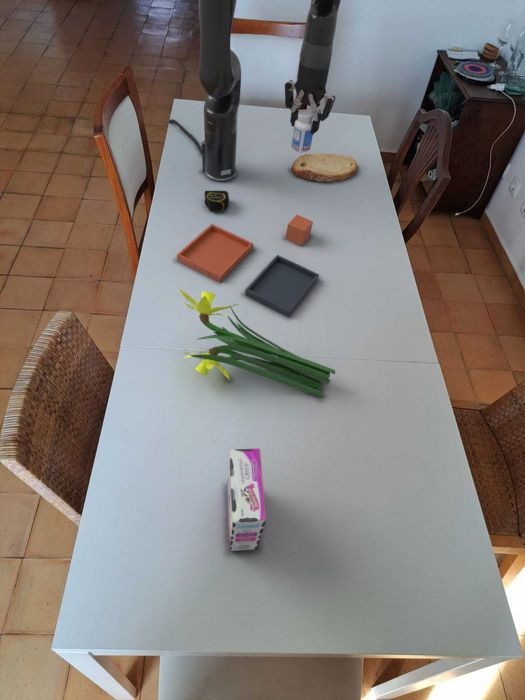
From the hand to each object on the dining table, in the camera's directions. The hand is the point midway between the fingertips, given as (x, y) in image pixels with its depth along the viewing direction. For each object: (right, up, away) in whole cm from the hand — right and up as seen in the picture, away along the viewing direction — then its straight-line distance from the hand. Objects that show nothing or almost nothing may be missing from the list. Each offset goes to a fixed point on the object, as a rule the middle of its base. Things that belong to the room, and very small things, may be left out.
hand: (303, 128), depth 124 cm
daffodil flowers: (-13, -64, -26) cm, 70 cm away
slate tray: (-6, -45, -11) cm, 47 cm away
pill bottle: (0, -3, +5) cm, 6 cm away
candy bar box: (-15, -90, -45) cm, 101 cm away
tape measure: (-25, -19, +6) cm, 32 cm away
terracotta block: (-1, -30, +1) cm, 30 cm away
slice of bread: (+9, -3, +21) cm, 23 cm away
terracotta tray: (-23, -36, -6) cm, 43 cm away
